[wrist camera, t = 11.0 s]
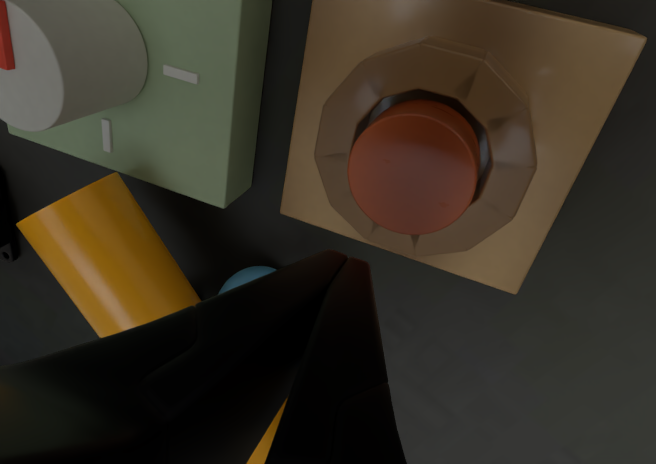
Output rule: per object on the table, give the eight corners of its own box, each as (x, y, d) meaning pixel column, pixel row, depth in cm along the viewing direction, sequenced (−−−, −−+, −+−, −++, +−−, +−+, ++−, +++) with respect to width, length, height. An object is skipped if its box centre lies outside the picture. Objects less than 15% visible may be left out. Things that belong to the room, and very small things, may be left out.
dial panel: (52, 119, 24) (4, 134, 21) (21, -129, 18) (-46, -142, 16) (251, 186, 22) (222, 211, 19) (281, -70, 16) (245, -77, 14)
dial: (148, 116, 19) (61, 150, 15) (63, 88, 19) (-39, 114, 16) (148, 6, 16) (46, 15, 13) (52, -22, 17) (-69, -20, 14)
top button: (351, 191, 16) (335, 213, 14) (377, 84, 14) (361, 97, 13) (457, 225, 15) (451, 252, 14) (499, 118, 13) (497, 135, 12)
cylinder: (400, 376, 24) (251, 100, 20) (337, 604, 15) (48, 195, 11) (222, 406, 30) (79, 196, 26) (103, 583, 21) (-145, 309, 17)
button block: (299, 192, 21) (258, 234, 18) (339, -39, 16) (295, -42, 13) (515, 265, 19) (516, 326, 16) (631, 29, 14) (667, 46, 11)
